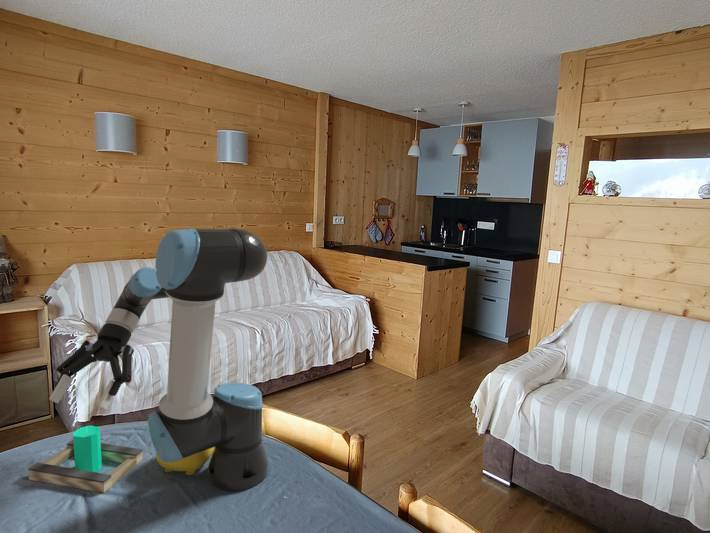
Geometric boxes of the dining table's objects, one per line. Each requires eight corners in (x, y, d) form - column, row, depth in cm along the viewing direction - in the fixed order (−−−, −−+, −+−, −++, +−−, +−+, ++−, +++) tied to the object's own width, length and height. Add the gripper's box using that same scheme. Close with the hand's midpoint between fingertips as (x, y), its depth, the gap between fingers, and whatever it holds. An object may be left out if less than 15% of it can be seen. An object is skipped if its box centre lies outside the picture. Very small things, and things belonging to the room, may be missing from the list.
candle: (89, 478, 110) (87, 433, 108) (68, 474, 111) (66, 429, 109) (107, 464, 116) (105, 421, 114) (87, 461, 117) (85, 418, 115)
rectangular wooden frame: (142, 459, 118) (142, 449, 118) (104, 492, 105) (103, 481, 104) (74, 448, 122) (74, 438, 122) (29, 479, 108) (28, 468, 108)
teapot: (227, 445, 127) (227, 404, 125) (192, 489, 107) (191, 441, 106) (184, 439, 129) (183, 399, 127) (141, 481, 109) (140, 435, 108)
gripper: (165, 339, 122) (130, 415, 109) (86, 331, 126) (44, 404, 114) (152, 325, 116) (114, 404, 103) (70, 318, 120) (23, 392, 108)
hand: (77, 404), depth 109 cm, fingers open, 13 cm apart
